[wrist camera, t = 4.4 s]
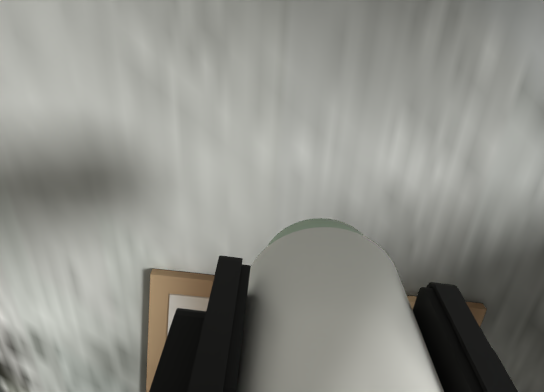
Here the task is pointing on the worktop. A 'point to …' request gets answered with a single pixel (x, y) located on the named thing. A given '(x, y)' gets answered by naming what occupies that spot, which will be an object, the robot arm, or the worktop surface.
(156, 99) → the worktop surface
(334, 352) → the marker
